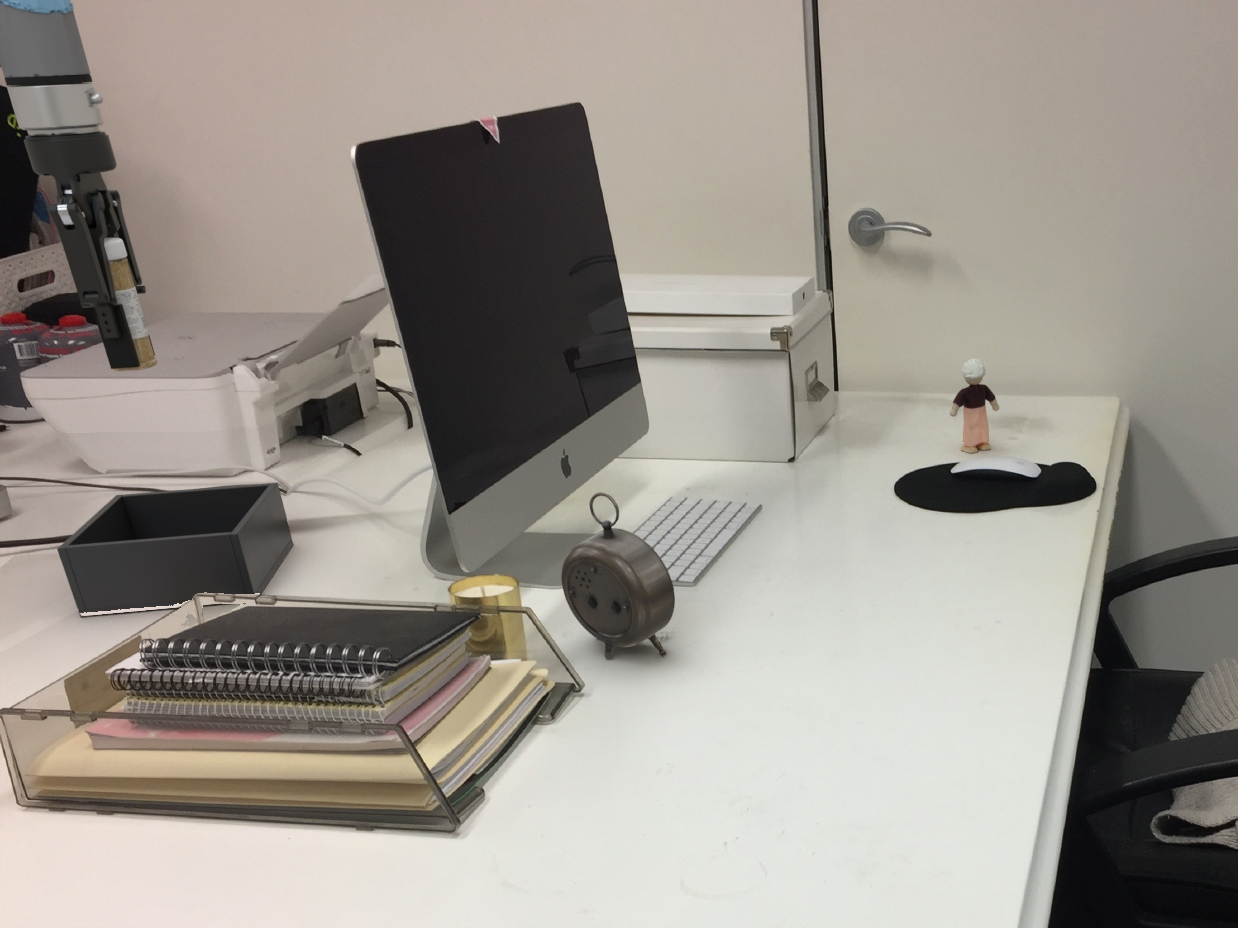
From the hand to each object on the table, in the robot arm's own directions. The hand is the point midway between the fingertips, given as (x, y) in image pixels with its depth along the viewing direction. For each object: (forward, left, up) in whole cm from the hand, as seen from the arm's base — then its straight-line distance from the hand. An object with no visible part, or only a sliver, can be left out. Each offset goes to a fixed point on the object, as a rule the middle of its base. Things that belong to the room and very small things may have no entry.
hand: (133, 361), depth 143 cm
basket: (+2, -7, -23) cm, 24 cm away
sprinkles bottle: (0, 0, -1) cm, 1 cm away
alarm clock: (+50, -38, -23) cm, 67 cm away
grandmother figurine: (+98, +18, -23) cm, 103 cm away
